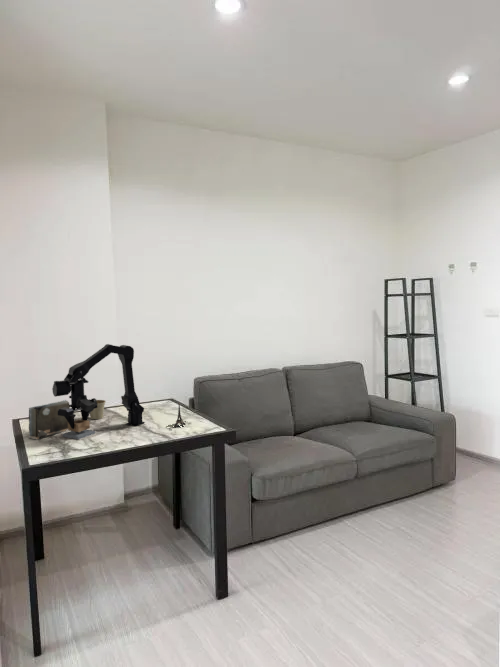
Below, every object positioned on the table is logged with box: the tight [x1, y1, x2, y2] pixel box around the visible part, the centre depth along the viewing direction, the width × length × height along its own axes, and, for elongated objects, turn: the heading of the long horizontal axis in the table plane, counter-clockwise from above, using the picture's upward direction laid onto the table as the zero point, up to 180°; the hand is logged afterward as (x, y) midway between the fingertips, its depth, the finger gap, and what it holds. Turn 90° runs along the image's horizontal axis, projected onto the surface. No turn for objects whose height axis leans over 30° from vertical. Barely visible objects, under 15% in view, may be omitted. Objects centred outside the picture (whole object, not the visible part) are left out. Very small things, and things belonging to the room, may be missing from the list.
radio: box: [27, 399, 71, 440], centre depth 223 cm, size 23×9×15 cm, turn 151°
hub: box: [62, 429, 96, 440], centre depth 219 cm, size 10×10×5 cm
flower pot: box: [89, 399, 107, 420], centre depth 249 cm, size 9×9×9 cm
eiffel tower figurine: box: [165, 402, 186, 429], centre depth 233 cm, size 15×10×13 cm
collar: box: [67, 418, 91, 432], centre depth 219 cm, size 7×7×4 cm
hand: (78, 426), depth 219 cm, fingers closed on collar, 7 cm apart
